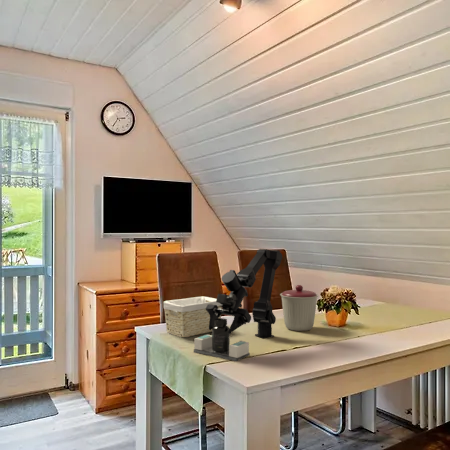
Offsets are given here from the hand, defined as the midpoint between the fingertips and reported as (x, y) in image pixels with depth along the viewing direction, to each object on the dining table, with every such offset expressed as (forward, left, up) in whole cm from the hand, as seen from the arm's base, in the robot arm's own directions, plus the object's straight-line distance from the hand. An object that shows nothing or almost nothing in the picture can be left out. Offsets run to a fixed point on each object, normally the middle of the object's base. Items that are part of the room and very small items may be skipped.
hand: (219, 331), depth 165 cm
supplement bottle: (-1, +1, -8) cm, 8 cm away
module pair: (-1, +1, -8) cm, 8 cm away
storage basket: (-38, +7, -9) cm, 40 cm away
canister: (-19, +54, -9) cm, 58 cm away
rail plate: (-1, +1, -9) cm, 9 cm away
